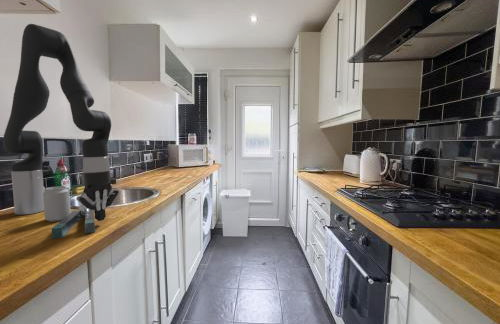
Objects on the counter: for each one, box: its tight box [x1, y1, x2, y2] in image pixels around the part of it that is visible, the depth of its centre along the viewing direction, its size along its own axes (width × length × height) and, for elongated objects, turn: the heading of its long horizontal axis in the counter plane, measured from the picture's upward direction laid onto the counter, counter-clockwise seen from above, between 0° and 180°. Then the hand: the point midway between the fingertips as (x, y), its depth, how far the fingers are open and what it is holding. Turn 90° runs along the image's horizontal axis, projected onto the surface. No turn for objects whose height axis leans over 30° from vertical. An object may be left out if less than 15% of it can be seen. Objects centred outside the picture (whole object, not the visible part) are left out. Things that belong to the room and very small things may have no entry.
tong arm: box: [84, 209, 96, 234], centre depth 82 cm, size 20×2×3 cm, turn 34°
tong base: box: [51, 205, 88, 240], centre depth 82 cm, size 24×4×4 cm, turn 22°
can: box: [43, 185, 72, 223], centre depth 88 cm, size 8×8×12 cm
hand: (100, 220), depth 82 cm, fingers closed
